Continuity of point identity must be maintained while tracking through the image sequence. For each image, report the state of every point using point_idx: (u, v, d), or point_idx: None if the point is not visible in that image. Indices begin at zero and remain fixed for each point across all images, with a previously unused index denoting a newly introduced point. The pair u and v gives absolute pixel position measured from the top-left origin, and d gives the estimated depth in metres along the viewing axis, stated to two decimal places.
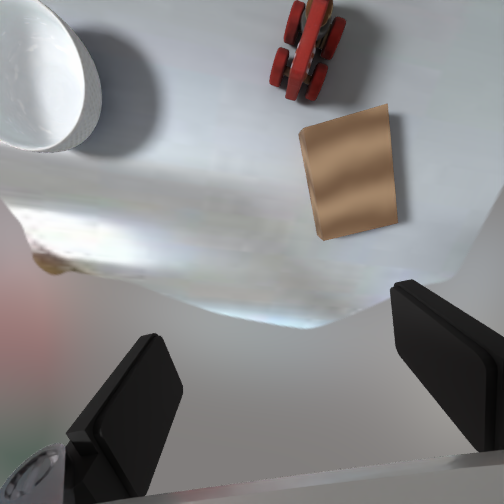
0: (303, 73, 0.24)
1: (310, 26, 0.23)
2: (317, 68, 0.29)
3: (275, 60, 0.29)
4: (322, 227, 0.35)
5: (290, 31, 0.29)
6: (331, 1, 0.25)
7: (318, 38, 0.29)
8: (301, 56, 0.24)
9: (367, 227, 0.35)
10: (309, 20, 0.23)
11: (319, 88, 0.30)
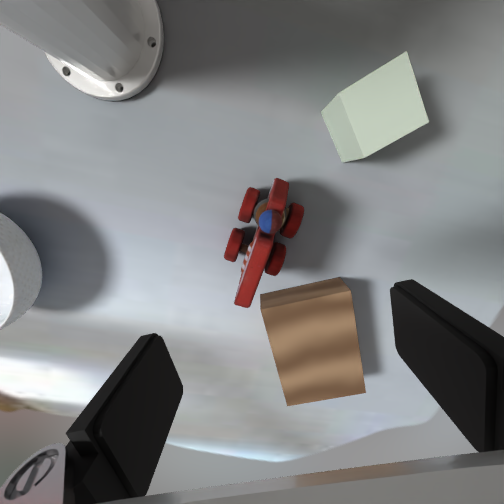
0: (248, 305, 0.22)
1: (253, 267, 0.21)
2: (273, 256, 0.27)
3: (227, 249, 0.27)
4: (285, 394, 0.33)
5: (243, 219, 0.26)
6: (282, 216, 0.23)
7: None
8: (245, 292, 0.21)
9: (333, 395, 0.32)
10: (251, 261, 0.20)
11: (277, 273, 0.28)
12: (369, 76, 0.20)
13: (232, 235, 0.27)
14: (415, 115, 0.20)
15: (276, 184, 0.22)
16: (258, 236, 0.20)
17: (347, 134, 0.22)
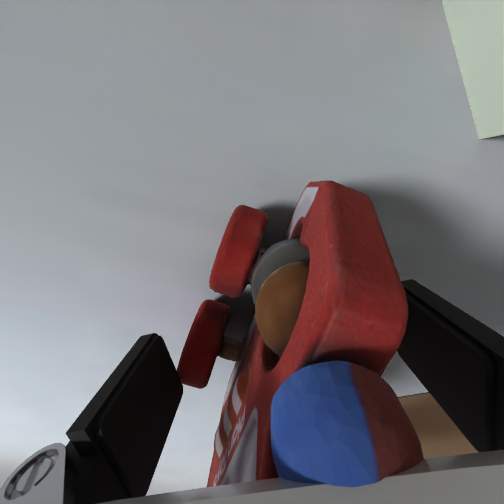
0: None
1: None
2: None
3: (180, 370, 0.10)
4: None
5: (223, 293, 0.10)
6: None
7: None
8: None
9: None
10: None
11: None
12: None
13: (194, 332, 0.10)
14: None
15: (338, 206, 0.06)
16: None
17: None
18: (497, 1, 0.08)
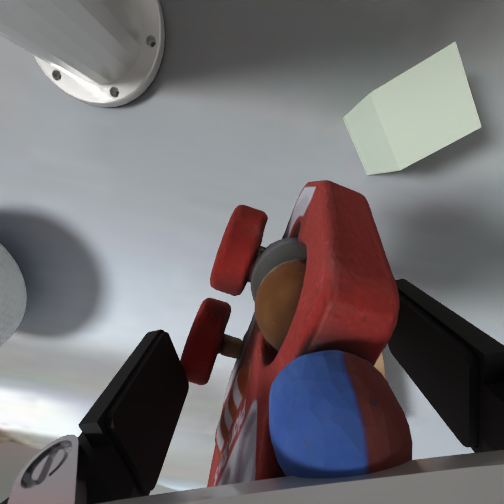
0: None
1: None
2: None
3: (182, 366, 0.10)
4: None
5: (223, 291, 0.10)
6: None
7: None
8: None
9: None
10: None
11: None
12: (408, 73, 0.16)
13: (195, 330, 0.10)
14: (464, 119, 0.17)
15: (334, 205, 0.06)
16: None
17: (378, 142, 0.19)
18: (357, 128, 0.21)
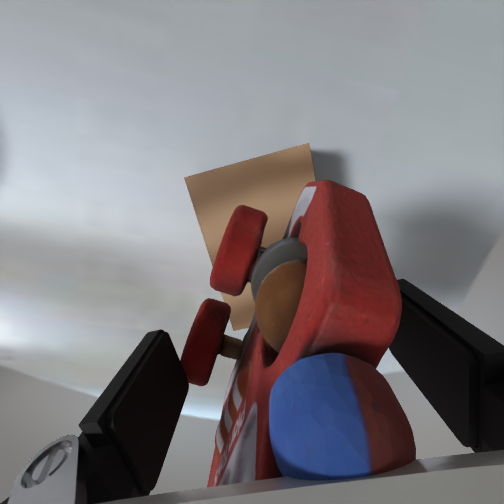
0: None
1: None
2: None
3: None
4: None
5: (223, 291, 0.10)
6: None
7: None
8: None
9: None
10: None
11: None
12: None
13: (195, 330, 0.10)
14: None
15: (335, 205, 0.06)
16: None
17: None
18: None
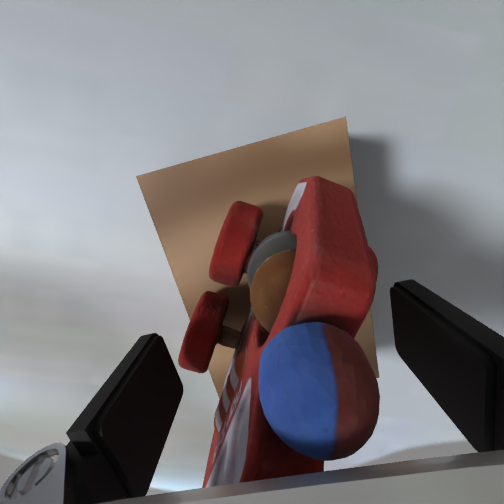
0: None
1: None
2: None
3: (182, 354, 0.11)
4: (215, 381, 0.16)
5: (221, 282, 0.10)
6: None
7: None
8: None
9: None
10: None
11: None
12: None
13: (195, 320, 0.11)
14: None
15: (321, 198, 0.06)
16: (258, 442, 0.04)
17: None
18: None
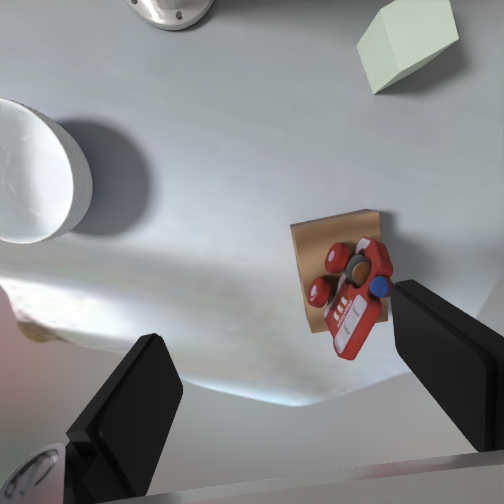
0: (353, 359, 0.24)
1: (363, 326, 0.23)
2: None
3: (317, 298, 0.29)
4: (311, 321, 0.34)
5: (333, 272, 0.29)
6: None
7: None
8: (352, 347, 0.23)
9: None
10: (363, 321, 0.23)
11: None
12: None
13: (322, 285, 0.29)
14: (447, 32, 0.23)
15: (378, 248, 0.25)
16: (369, 299, 0.23)
17: (384, 54, 0.25)
18: (367, 50, 0.27)
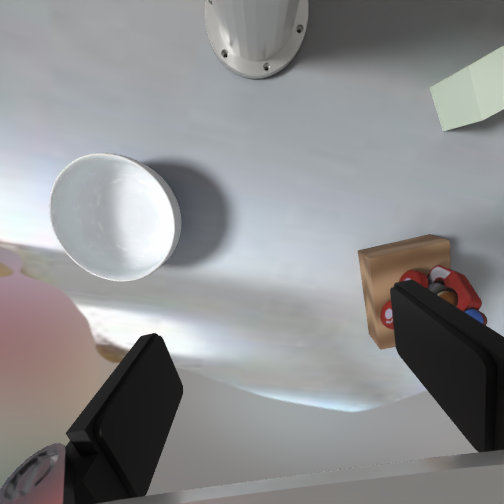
0: None
1: None
2: None
3: None
4: (380, 338, 0.37)
5: None
6: None
7: None
8: None
9: None
10: None
11: None
12: (494, 52, 0.25)
13: None
14: None
15: (462, 281, 0.27)
16: None
17: (465, 102, 0.27)
18: (444, 94, 0.29)
